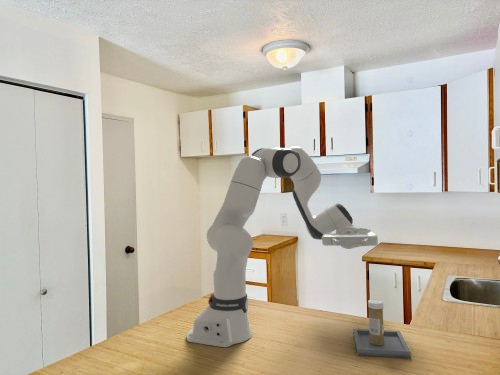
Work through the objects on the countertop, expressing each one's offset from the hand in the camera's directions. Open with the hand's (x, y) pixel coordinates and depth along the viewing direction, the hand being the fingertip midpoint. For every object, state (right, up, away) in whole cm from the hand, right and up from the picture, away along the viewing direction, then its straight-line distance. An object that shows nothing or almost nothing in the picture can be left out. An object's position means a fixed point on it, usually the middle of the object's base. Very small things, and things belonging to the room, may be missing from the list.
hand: (350, 243), depth 132 cm
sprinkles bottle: (+4, -30, -15) cm, 34 cm away
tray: (+5, -30, -15) cm, 34 cm away
